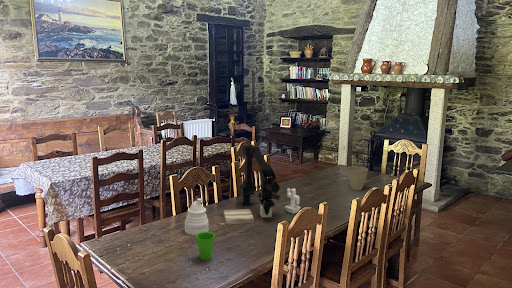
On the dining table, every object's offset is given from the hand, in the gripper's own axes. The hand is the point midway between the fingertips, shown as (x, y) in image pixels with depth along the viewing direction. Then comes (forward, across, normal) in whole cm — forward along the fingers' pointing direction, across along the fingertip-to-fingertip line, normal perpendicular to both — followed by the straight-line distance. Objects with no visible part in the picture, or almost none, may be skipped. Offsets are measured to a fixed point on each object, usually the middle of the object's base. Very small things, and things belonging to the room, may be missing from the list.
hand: (265, 213), depth 235 cm
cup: (+2, -49, +39) cm, 63 cm away
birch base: (+2, -2, +17) cm, 17 cm away
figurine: (+2, +4, -18) cm, 19 cm away
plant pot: (+2, +46, -80) cm, 92 cm away
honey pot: (+2, -16, +42) cm, 45 cm away
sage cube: (+2, 0, 0) cm, 2 cm away
